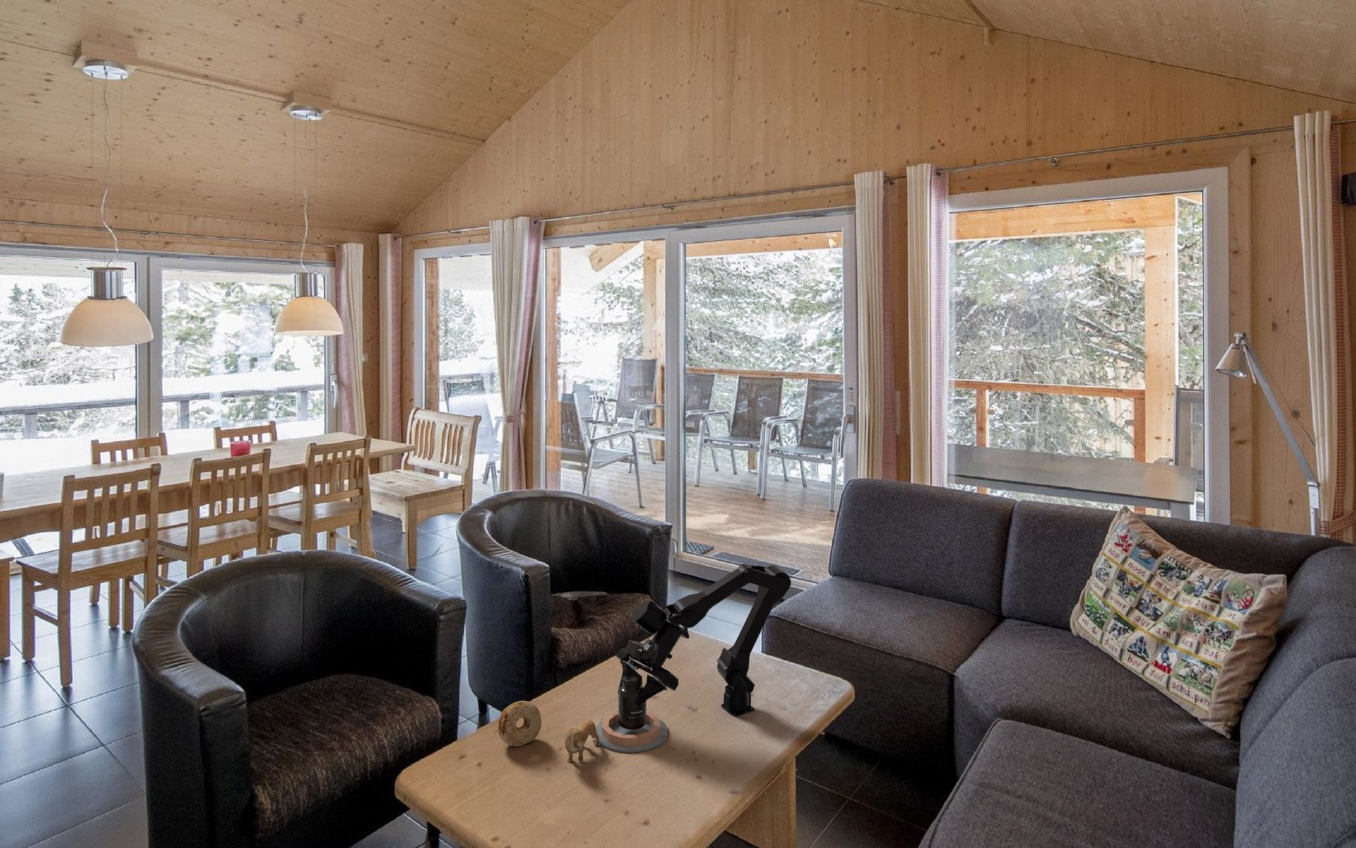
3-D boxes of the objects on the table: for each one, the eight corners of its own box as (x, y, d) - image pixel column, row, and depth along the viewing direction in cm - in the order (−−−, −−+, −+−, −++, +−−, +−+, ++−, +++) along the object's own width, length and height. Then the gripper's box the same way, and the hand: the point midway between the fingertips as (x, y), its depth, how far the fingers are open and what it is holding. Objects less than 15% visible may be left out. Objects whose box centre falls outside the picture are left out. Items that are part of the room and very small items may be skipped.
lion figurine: (582, 773, 179) (582, 735, 178) (560, 770, 180) (559, 732, 179) (602, 740, 193) (602, 704, 192) (581, 737, 194) (581, 702, 193)
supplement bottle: (636, 733, 191) (635, 685, 190) (613, 726, 195) (612, 679, 194) (652, 721, 197) (651, 675, 196) (629, 714, 201) (628, 668, 199)
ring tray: (645, 708, 209) (645, 699, 208) (681, 740, 194) (681, 730, 193) (582, 726, 199) (582, 716, 199) (615, 760, 184) (615, 750, 184)
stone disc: (502, 753, 187) (502, 712, 185) (497, 746, 190) (496, 706, 188) (544, 741, 192) (543, 701, 191) (538, 734, 195) (537, 695, 194)
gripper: (621, 617, 203) (585, 671, 197) (669, 639, 189) (633, 698, 183) (645, 638, 209) (611, 691, 203) (694, 662, 195) (659, 719, 189)
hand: (627, 699), depth 194 cm, fingers closed on supplement bottle, 7 cm apart
